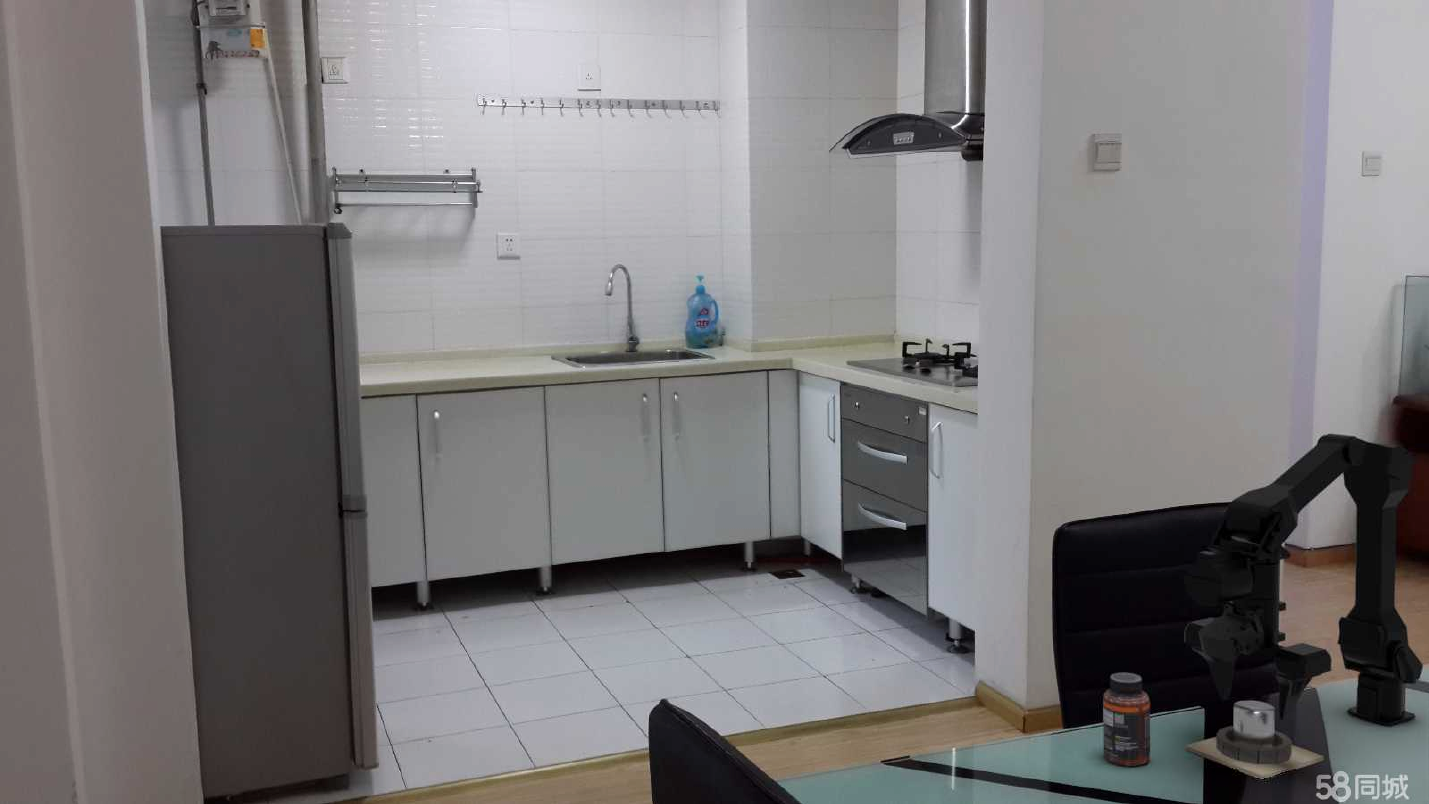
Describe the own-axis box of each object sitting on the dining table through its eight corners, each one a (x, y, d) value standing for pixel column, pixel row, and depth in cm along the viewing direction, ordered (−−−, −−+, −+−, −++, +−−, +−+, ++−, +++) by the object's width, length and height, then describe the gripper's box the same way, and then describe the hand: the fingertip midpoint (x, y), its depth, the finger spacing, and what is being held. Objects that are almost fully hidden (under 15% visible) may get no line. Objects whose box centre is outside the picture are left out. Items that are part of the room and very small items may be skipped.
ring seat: (1246, 732, 174) (1246, 715, 174) (1323, 760, 164) (1323, 743, 164) (1185, 749, 169) (1186, 732, 168) (1261, 780, 158) (1262, 762, 158)
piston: (1250, 740, 170) (1250, 698, 169) (1282, 752, 165) (1282, 708, 164) (1225, 748, 167) (1225, 705, 167) (1256, 760, 163) (1257, 716, 162)
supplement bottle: (1144, 750, 169) (1144, 669, 168) (1155, 768, 163) (1155, 684, 162) (1098, 750, 169) (1099, 669, 168) (1108, 767, 164) (1108, 684, 162)
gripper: (1156, 588, 168) (1155, 700, 170) (1276, 620, 152) (1274, 744, 154) (1213, 576, 173) (1211, 685, 175) (1335, 606, 157) (1332, 726, 159)
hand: (1253, 709), depth 165 cm, fingers open, 9 cm apart
